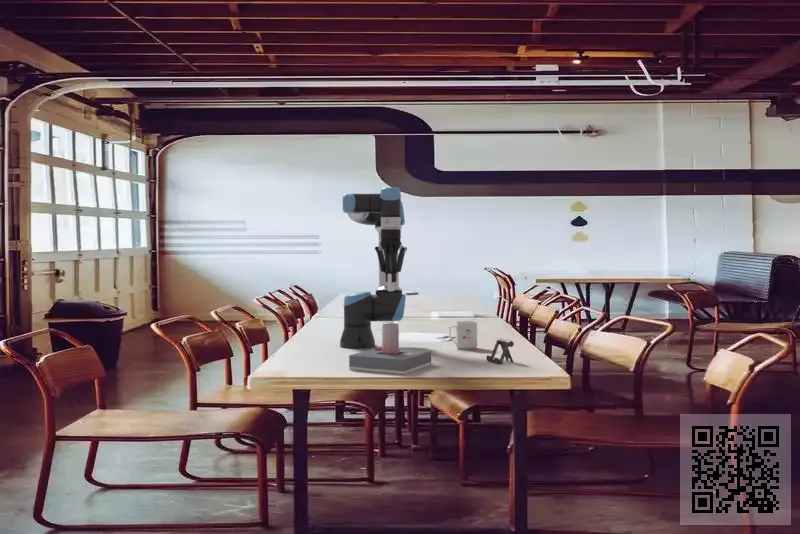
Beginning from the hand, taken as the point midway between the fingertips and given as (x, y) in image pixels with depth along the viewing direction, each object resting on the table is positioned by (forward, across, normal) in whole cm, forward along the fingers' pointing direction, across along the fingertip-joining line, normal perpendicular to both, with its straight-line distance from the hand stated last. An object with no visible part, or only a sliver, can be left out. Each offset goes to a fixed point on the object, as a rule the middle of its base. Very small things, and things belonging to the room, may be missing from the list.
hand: (391, 290), depth 285 cm
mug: (+28, +12, +41) cm, 51 cm away
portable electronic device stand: (+27, +38, +16) cm, 50 cm away
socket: (+26, +6, -12) cm, 30 cm away
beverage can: (+26, +6, -12) cm, 29 cm away
